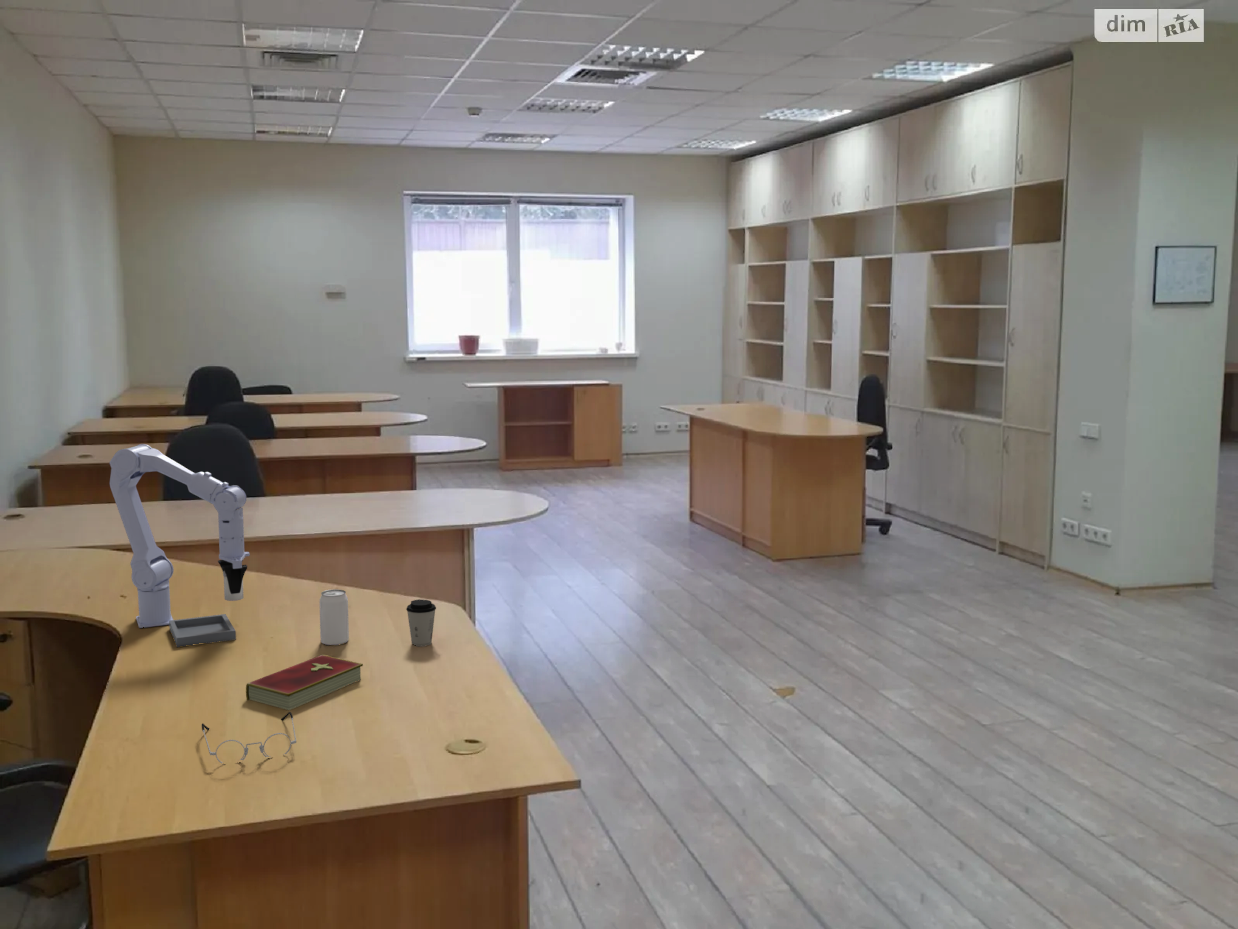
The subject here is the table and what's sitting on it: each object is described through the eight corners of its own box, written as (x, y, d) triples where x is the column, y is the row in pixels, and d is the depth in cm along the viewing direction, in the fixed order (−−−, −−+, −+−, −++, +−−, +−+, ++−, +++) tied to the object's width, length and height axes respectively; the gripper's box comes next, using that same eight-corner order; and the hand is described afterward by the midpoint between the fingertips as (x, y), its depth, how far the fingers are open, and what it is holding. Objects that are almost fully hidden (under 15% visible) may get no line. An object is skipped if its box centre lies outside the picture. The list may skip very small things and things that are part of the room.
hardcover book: (246, 701, 218) (245, 681, 218) (321, 671, 236) (321, 653, 236) (288, 713, 213) (288, 693, 212) (363, 681, 231) (362, 662, 230)
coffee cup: (442, 643, 255) (442, 602, 254) (418, 650, 250) (418, 608, 248) (424, 636, 260) (424, 596, 258) (400, 643, 255) (400, 602, 253)
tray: (169, 629, 262) (169, 620, 262) (225, 622, 268) (225, 614, 268) (176, 647, 249) (176, 638, 249) (235, 639, 255) (235, 630, 255)
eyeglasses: (206, 772, 186) (205, 745, 185) (200, 732, 203) (199, 707, 202) (302, 758, 192) (301, 731, 192) (289, 720, 209) (288, 695, 208)
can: (341, 647, 251) (340, 597, 249) (315, 645, 253) (314, 595, 251) (353, 638, 258) (352, 590, 256) (328, 636, 259) (327, 588, 257)
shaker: (222, 597, 266) (221, 569, 265) (241, 594, 268) (240, 567, 267) (225, 601, 262) (224, 573, 261) (245, 599, 264) (244, 571, 263)
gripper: (254, 541, 258) (256, 596, 261) (243, 529, 271) (245, 581, 273) (223, 543, 255) (225, 599, 257) (213, 531, 268) (215, 584, 270)
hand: (233, 590), depth 265 cm, fingers closed on shaker, 4 cm apart
